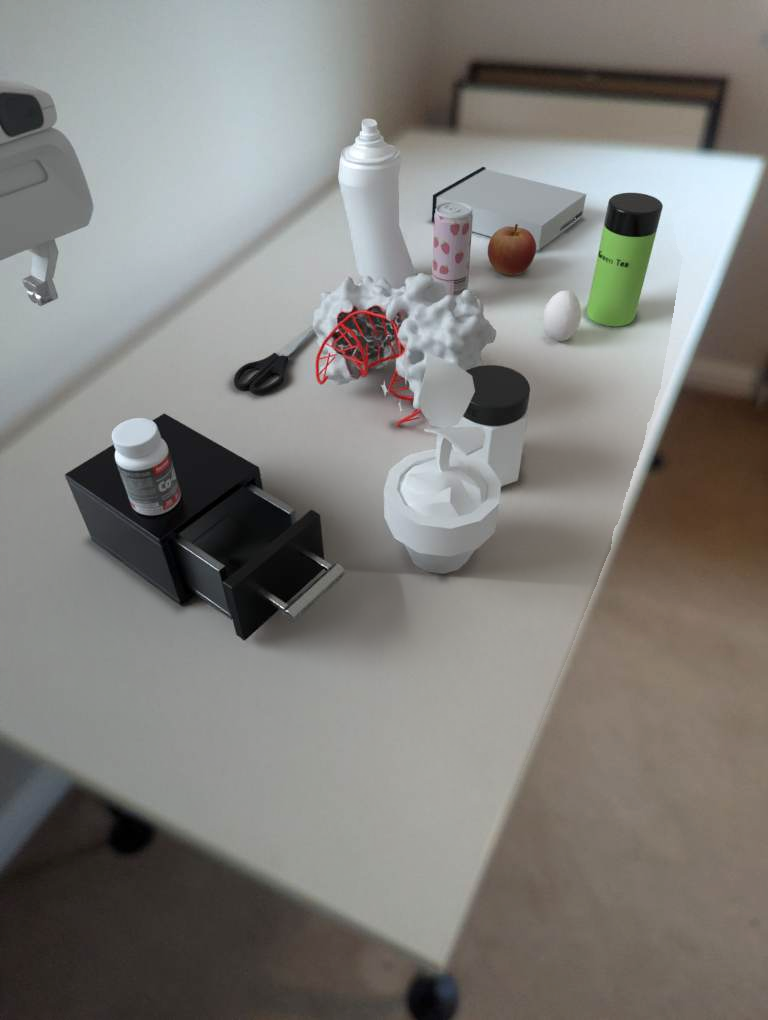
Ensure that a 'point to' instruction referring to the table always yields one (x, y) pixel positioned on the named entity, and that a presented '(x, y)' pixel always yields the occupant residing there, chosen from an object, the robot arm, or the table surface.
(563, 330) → the egg
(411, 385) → the molecular structure model
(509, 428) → the jar
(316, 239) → the table surface
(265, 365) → the scissors
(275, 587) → the drawer
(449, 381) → the potted plant
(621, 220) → the tumbler
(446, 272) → the beverage can
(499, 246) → the apple
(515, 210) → the disc drive
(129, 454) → the pill bottle
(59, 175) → the robot arm
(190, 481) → the black drawer cabinet
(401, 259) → the spray can
